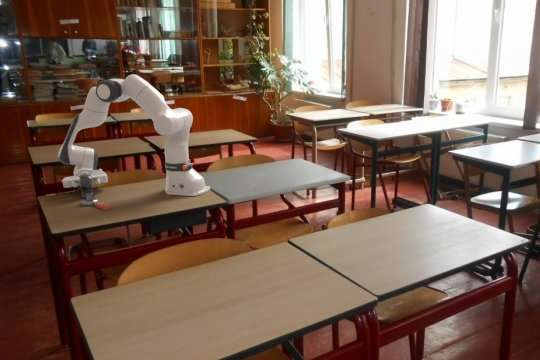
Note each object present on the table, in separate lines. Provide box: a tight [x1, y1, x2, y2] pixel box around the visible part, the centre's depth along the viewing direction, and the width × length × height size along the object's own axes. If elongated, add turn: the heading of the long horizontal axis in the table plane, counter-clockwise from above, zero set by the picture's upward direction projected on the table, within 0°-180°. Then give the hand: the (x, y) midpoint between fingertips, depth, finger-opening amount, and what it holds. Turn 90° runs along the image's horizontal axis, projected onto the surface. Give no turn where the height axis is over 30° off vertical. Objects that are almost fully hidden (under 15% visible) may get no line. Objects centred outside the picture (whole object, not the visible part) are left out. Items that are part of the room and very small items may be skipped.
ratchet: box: [81, 193, 113, 211], centre depth 211 cm, size 18×7×4 cm, turn 53°
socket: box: [79, 174, 95, 199], centre depth 223 cm, size 5×5×10 cm
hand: (86, 184), depth 223 cm, fingers open, 8 cm apart
